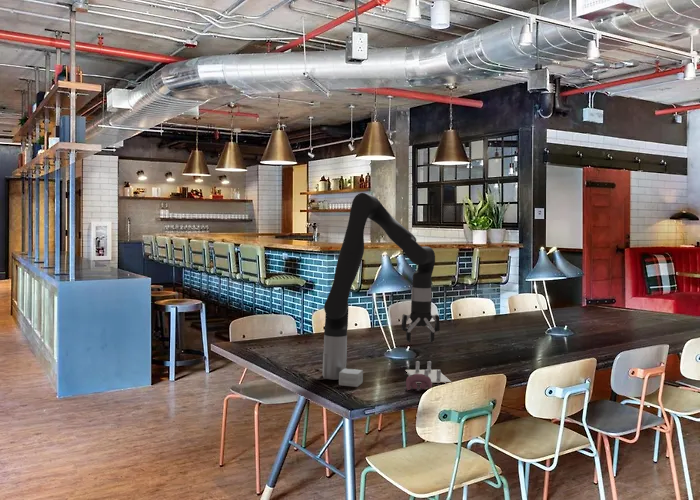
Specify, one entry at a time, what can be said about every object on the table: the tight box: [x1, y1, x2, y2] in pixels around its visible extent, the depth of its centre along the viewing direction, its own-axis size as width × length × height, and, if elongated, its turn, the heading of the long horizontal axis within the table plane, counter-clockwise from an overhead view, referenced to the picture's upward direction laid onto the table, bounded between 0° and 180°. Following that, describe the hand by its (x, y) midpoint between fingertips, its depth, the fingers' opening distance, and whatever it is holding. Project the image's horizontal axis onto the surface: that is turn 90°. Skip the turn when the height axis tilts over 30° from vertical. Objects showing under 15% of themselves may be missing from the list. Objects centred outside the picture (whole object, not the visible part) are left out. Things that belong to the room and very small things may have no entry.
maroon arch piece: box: [405, 374, 433, 391], centre depth 240 cm, size 10×5×7 cm, turn 92°
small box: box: [338, 368, 364, 388], centre depth 245 cm, size 8×8×5 cm
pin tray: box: [405, 360, 452, 383], centre depth 258 cm, size 14×20×5 cm
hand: (420, 342), depth 239 cm, fingers open, 8 cm apart
